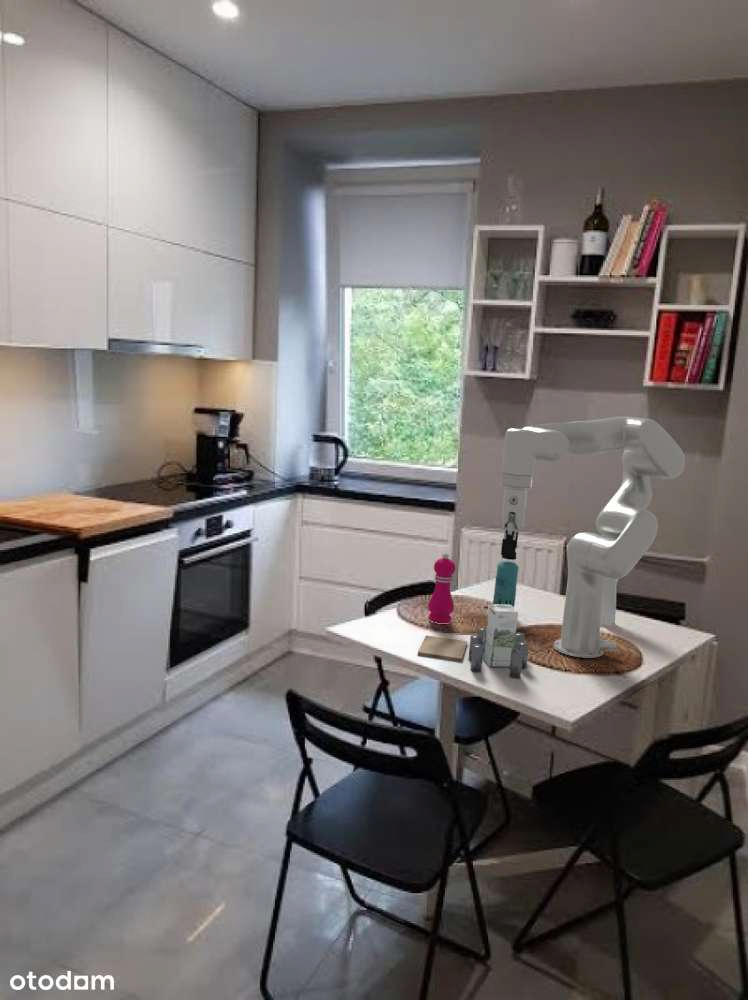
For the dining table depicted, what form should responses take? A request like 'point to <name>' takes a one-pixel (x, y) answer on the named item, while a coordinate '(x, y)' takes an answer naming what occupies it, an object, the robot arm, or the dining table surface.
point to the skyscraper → (609, 601)
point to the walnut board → (442, 648)
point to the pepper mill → (442, 591)
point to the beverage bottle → (506, 582)
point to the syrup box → (500, 635)
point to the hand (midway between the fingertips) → (508, 551)
